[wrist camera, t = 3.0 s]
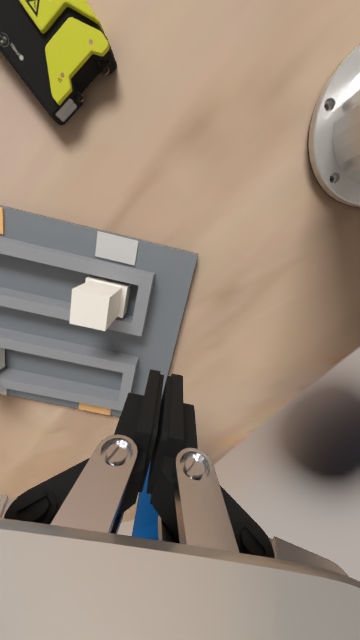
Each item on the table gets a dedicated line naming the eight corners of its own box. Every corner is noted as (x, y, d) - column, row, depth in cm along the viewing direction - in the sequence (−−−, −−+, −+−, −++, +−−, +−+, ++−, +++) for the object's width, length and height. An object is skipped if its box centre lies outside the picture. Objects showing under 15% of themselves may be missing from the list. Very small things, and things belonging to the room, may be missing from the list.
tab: (131, 283, 24) (116, 297, 19) (126, 312, 25) (110, 333, 20) (92, 274, 24) (65, 286, 18) (89, 304, 25) (63, 323, 19)
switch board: (197, 253, 24) (199, 256, 21) (156, 416, 32) (153, 435, 29) (-104, 179, 22) (-149, 170, 19) (-74, 371, 30) (-103, 386, 27)
